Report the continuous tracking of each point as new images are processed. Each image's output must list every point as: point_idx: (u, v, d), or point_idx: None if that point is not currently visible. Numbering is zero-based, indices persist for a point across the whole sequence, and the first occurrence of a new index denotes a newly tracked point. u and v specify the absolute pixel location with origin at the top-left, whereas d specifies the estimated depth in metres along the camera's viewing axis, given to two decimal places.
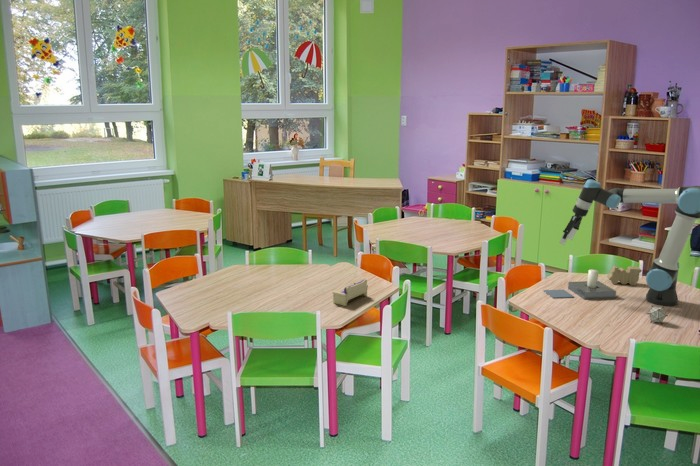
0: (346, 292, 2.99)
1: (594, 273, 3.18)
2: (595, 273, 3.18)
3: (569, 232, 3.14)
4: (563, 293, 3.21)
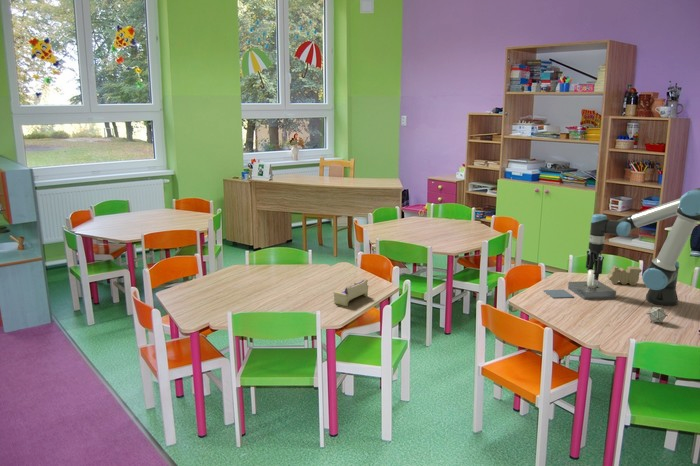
0: (347, 292, 2.99)
1: None
2: None
3: None
4: (563, 293, 3.21)
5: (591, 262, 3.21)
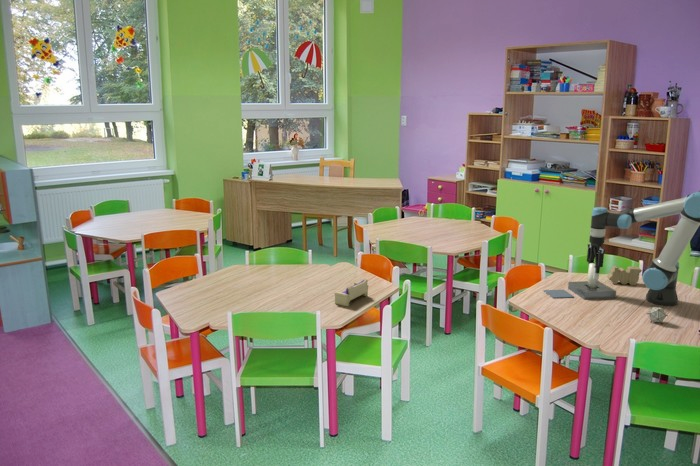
0: (348, 292, 2.99)
1: None
2: None
3: None
4: (563, 293, 3.21)
5: (592, 255, 3.20)
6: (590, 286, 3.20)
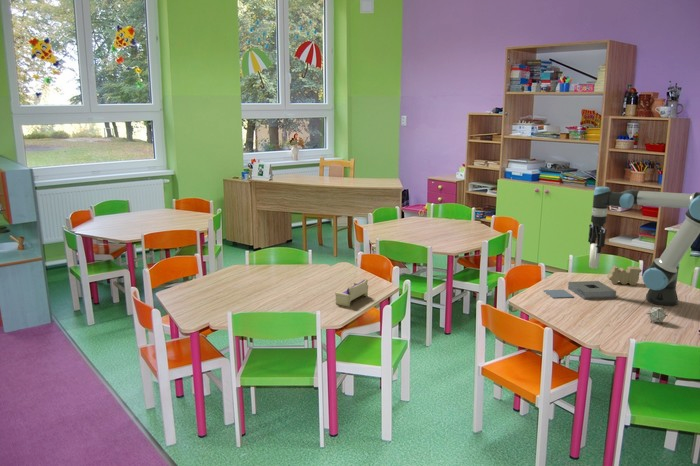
0: (349, 293, 2.98)
1: None
2: None
3: None
4: (563, 293, 3.21)
5: (594, 235, 3.18)
6: (591, 266, 3.18)
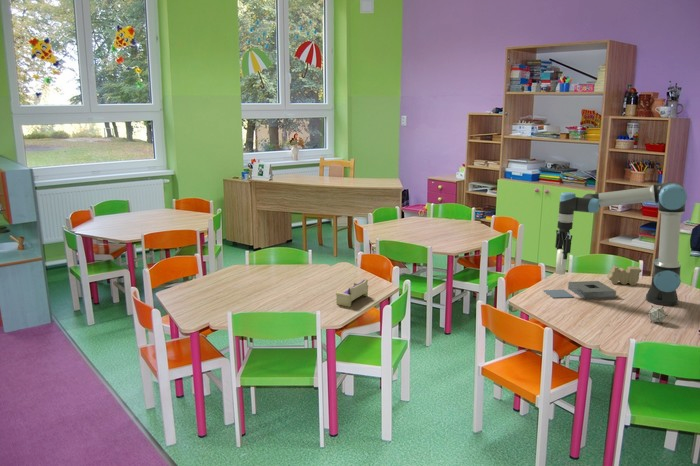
0: (350, 293, 2.98)
1: None
2: None
3: None
4: (563, 293, 3.21)
5: (560, 241, 3.16)
6: (558, 272, 3.16)
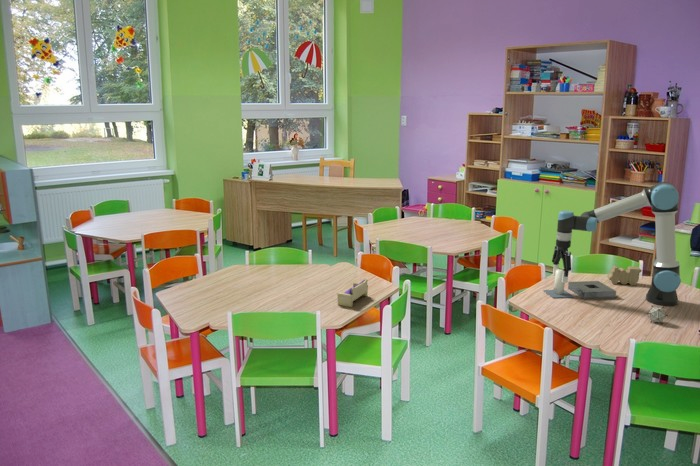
0: (351, 293, 2.98)
1: (561, 273, 3.16)
2: (562, 273, 3.15)
3: None
4: None
5: (557, 258, 3.20)
6: (556, 293, 3.19)
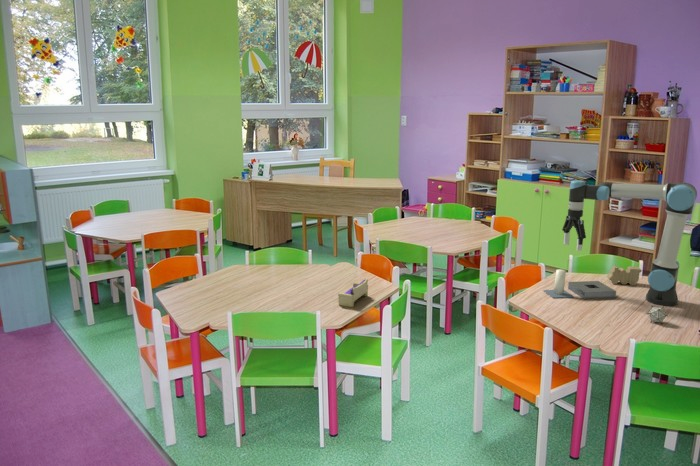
0: (353, 293, 2.98)
1: (561, 273, 3.15)
2: (562, 273, 3.15)
3: None
4: None
5: (569, 227, 3.21)
6: (556, 293, 3.19)
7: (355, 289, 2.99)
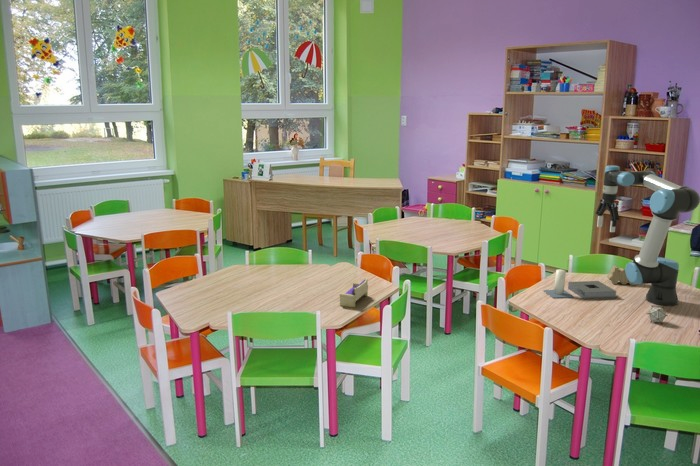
0: (354, 293, 2.98)
1: (561, 273, 3.15)
2: (562, 273, 3.15)
3: None
4: None
5: (602, 210, 3.38)
6: (556, 293, 3.19)
7: (356, 289, 2.98)
